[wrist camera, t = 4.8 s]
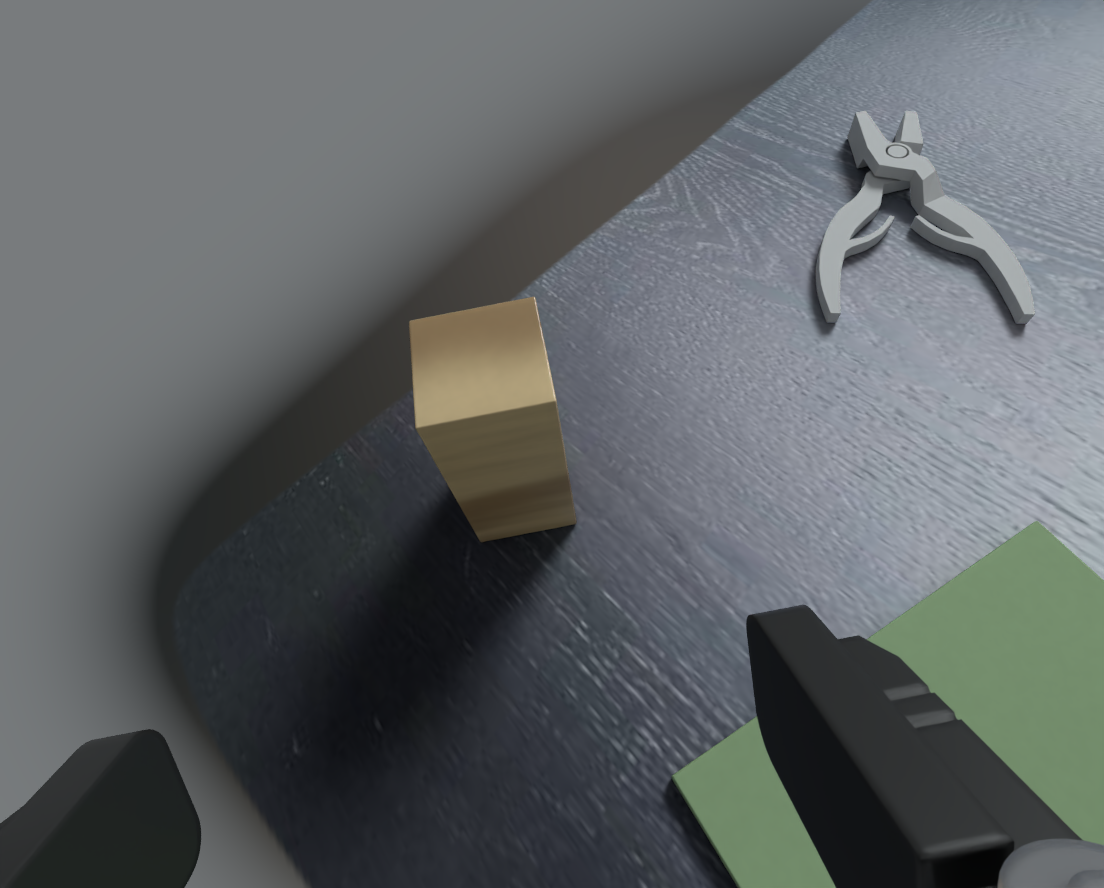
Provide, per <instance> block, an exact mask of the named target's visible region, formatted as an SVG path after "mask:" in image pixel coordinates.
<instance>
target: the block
mask: <svg viewBox="0 0 1104 888" xmlns="http://www.w3.org/2000/svg"><path fill="white" fill-rule="evenodd" d="M409 331H410V348H411V364H412V380H413V396H414V412H415V428H416V430H417V432H418V433H419V435H420V437H421V439H422V440H423V442H424V444H425V446H426V447H427V449H428V451H429V453H430V454H431V456H432V458H433V460H434V461H435V463H436V465H437V467H438V469H439V470H440V472H441V474H442V476H443V477H444V479H445V481H446V483H447V484H448V486H449V488H450V490H451V491H452V493H453V495H454V497H455V498H456V500H457V502H458V504H459V505H460V507H461V509H462V511H463V512H464V514H465V516H466V518H467V519H468V521H469V523H470V525H471V527H472V528H473V530H474V532H475V534H476V535H477V537H478V539H479V541H480V542H485V541H490V540H496V539H501V538H506V537H511V536H516V535H522V534H527V533H532V532H537V531H542V530H547V529H553V528H558V527H563V526H568V525H573V524H577V521H576V515H575V509H574V503H573V497H572V491H571V485H570V479H569V473H568V467H567V461H566V455H565V449H564V443H563V437H562V431H561V425H560V419H559V413H558V407H557V401H556V396H555V391H554V386H553V381H552V376H551V372H550V367H549V362H548V357H547V352H546V347H545V342H544V337H543V332H542V327H541V323H540V318H539V313H538V308H537V303H536V298H535V297H530V298H525V299H520V300H514V301H509V302H505V303H500V304H494V305H489V306H484V307H478V308H473V309H468V310H463V311H458V312H453V313H448V314H443V315H437V316H432V317H427V318H423V319H417V320H412V321H409Z"/></svg>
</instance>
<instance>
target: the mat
mask: <svg viewBox="0 0 1104 888" xmlns="http://www.w3.org/2000/svg"><path fill="white" fill-rule="evenodd" d="M866 640H868V641H870V642H872V643H874V644H876V645H878V646H879V647H881V648H883V649H885V650H887V651H889V652H891V653H893V654H895V655H897V656H899V657H900V658H901V659H902V660H903V661H904V662H905V663H906V664H907V665H908V666H909V667H910V668H911V669H912V670H913V671H914V672H915V673H916V674H917V675H918V676H919V677H920V678H921V679H922V680H923V681H924V682H925V683H926V684H927V685H928V687H929V690H930V692H931V693H934V692H935V693H936V694H937V695H938V696H939V697H940V698H941V699H942V700H943V701H944V702H945V703H946V704H947V705H948V706H949V707H950V708H951V709H952V710H953V711H954V713H955V716H956V718H957V719H958V720H960V719H962V720H963V721H964V722H965V723H966V724H967V725H968V726H969V727H970V728H971V729H972V730H973V731H974V732H975V733H976V734H977V735H978V736H979V737H980V738H981V739H982V740H983V741H984V742H985V743H986V744H987V745H988V746H989V747H990V748H991V749H992V750H993V751H994V752H995V753H996V754H997V755H998V756H999V757H1000V758H1001V759H1002V760H1003V761H1004V762H1005V763H1006V764H1007V765H1008V766H1009V767H1010V768H1011V769H1012V770H1013V771H1014V772H1015V773H1016V774H1017V775H1018V776H1019V777H1020V778H1021V779H1022V780H1023V781H1024V782H1025V783H1026V784H1027V785H1028V786H1029V787H1030V788H1031V789H1032V790H1033V791H1034V792H1035V793H1036V794H1037V795H1038V796H1039V797H1040V798H1041V799H1042V800H1043V801H1044V802H1045V803H1046V804H1047V805H1048V806H1049V807H1050V808H1051V809H1052V810H1053V811H1054V812H1055V813H1056V814H1057V815H1058V816H1059V817H1060V818H1061V819H1062V820H1063V821H1064V822H1065V823H1066V824H1067V825H1068V826H1069V827H1070V828H1071V829H1072V830H1073V831H1074V832H1075V833H1076V834H1077V835H1078V836H1079V837H1080V838H1081V839H1082V840H1083V841H1089V842H1093V843H1097V844H1101V845H1104V580H1103V579H1101V578H1100V577H1099V576H1098V575H1097V574H1096V573H1095V572H1094V571H1093V570H1091V569H1090V568H1089V567H1088V566H1087V565H1086V564H1085V563H1084V562H1082V561H1081V560H1080V559H1079V558H1078V557H1077V556H1076V555H1075V554H1074V553H1072V552H1071V551H1070V550H1069V549H1068V548H1067V547H1066V546H1065V545H1064V544H1062V543H1061V542H1060V541H1059V540H1058V539H1057V538H1056V537H1055V536H1054V535H1052V534H1051V533H1050V532H1049V531H1048V530H1047V529H1046V528H1045V527H1044V526H1042V525H1041V524H1040V523H1039V522H1038V521H1036V522H1034V523H1032V524H1031V525H1029V526H1028V527H1026V528H1025V529H1023V530H1022V531H1021V532H1019V533H1018V534H1016V535H1015V536H1013V537H1012V538H1011V539H1009V540H1008V541H1006V542H1005V543H1003V544H1002V545H1001V546H999V547H998V548H996V549H995V550H993V551H992V552H991V553H989V554H988V555H986V556H985V557H983V558H982V559H981V560H979V561H978V562H976V563H975V564H973V565H972V566H971V567H969V568H968V569H966V570H965V571H963V572H962V573H961V574H959V575H958V576H956V577H955V578H954V579H952V580H951V581H949V582H948V583H946V584H945V585H944V586H942V587H941V588H939V589H938V590H936V591H935V592H934V593H932V594H931V595H929V596H928V597H926V598H925V599H924V600H922V601H921V602H919V603H918V604H916V605H915V606H914V607H912V608H911V609H909V610H908V611H906V612H905V613H904V614H902V615H901V616H899V617H898V618H896V619H895V620H894V621H892V622H891V623H889V624H888V625H886V626H885V627H884V628H882V629H881V630H879V631H878V632H876V633H875V634H874V635H872V636H871V637H869V638H868V639H866ZM672 780H673V781H674V783H675V785H676V786H677V788H678V790H679V791H680V793H681V795H682V796H683V798H684V800H685V801H686V803H687V805H688V806H689V808H690V810H691V811H692V813H693V814H694V816H695V818H696V819H697V821H698V823H699V824H700V826H701V828H702V829H703V831H704V833H705V834H706V836H707V838H708V839H709V841H710V843H711V844H712V846H713V847H714V849H715V851H716V852H717V854H718V856H719V857H720V859H721V861H722V862H723V864H724V866H725V867H726V869H727V871H728V872H729V874H730V875H731V877H732V879H733V880H734V882H735V884H736V885H737V887H738V888H836V887H835V885H834V883H833V881H832V879H831V877H830V875H829V873H828V871H827V869H826V867H825V866H824V864H823V862H822V860H821V858H820V856H819V854H818V852H817V850H816V848H815V846H814V844H813V842H812V840H811V838H810V836H809V834H808V833H807V831H806V829H805V827H804V825H803V823H802V821H801V819H800V817H799V815H798V813H797V811H796V809H795V807H794V805H793V803H792V801H791V800H790V798H789V796H788V794H787V792H786V790H785V788H784V786H783V784H782V782H781V780H780V778H779V776H778V774H777V772H776V770H775V768H774V766H773V764H772V762H771V760H770V758H769V755H768V753H767V750H766V747H765V744H764V742H763V738H762V735H761V731H760V728H759V723H758V719H757V716H756V717H755V718H754V719H752V720H751V721H749V722H748V723H747V724H745V725H744V726H742V727H741V728H739V729H738V730H737V731H735V732H734V733H732V734H731V735H729V736H728V737H727V738H725V739H724V740H722V741H721V742H719V743H718V744H717V745H715V746H714V747H712V748H711V749H709V750H708V751H707V752H705V753H704V754H702V755H701V756H699V757H698V758H697V759H695V760H694V761H692V762H691V763H689V764H688V765H687V766H685V767H684V768H682V769H681V770H679V771H678V772H677V773H675V774H674V775H672Z"/></svg>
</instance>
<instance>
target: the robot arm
mask: <svg viewBox="0 0 1104 888" xmlns="http://www.w3.org/2000/svg"><path fill="white" fill-rule="evenodd" d="M746 628H747V638H748V646H749V655H750V663H751V672H752V680H753V688H754V697H755V705H756V713H757V719H758V723H759V728H760V731H761V735H762V738H763V742H764V744H765V747H766V750H767V753H768V755H769V758H770V760H771V762H772V764H773V766H774V768H775V770H776V772H777V774H778V776H779V778H780V780H781V782H782V784H783V786H784V788H785V790H786V792H787V794H788V796H789V798H790V800H791V801H792V803H793V805H794V807H795V809H796V811H797V813H798V815H799V817H800V819H801V821H802V823H803V825H804V827H805V829H806V831H807V833H808V834H809V836H810V838H811V840H812V842H813V844H814V846H815V848H816V850H817V852H818V854H819V856H820V858H821V860H822V862H823V864H824V866H825V867H826V869H827V871H828V873H829V875H830V877H831V879H832V881H833V883H834V885H835V887H836V888H1104V845H1101V844H1097V843H1093V842H1089V841H1083V840H1082V839H1081V838H1080V837H1079V836H1078V835H1077V834H1076V833H1075V832H1074V831H1073V830H1072V829H1071V828H1070V827H1069V826H1068V825H1067V824H1066V823H1065V822H1064V821H1063V820H1062V819H1061V818H1060V817H1059V816H1058V815H1057V814H1056V813H1055V812H1054V811H1053V810H1052V809H1051V808H1050V807H1049V806H1048V805H1047V804H1046V803H1045V802H1044V801H1043V800H1042V799H1041V798H1040V797H1039V796H1038V795H1037V794H1036V793H1035V792H1034V791H1033V790H1032V789H1031V788H1030V787H1029V786H1028V785H1027V784H1026V783H1025V782H1024V781H1023V780H1022V779H1021V778H1020V777H1019V776H1018V775H1017V774H1016V773H1015V772H1014V771H1013V770H1012V769H1011V768H1010V767H1009V766H1008V765H1007V764H1006V763H1005V762H1004V761H1003V760H1002V759H1001V758H1000V757H999V756H998V755H997V754H996V753H995V752H994V751H993V750H992V749H991V748H990V747H989V746H988V745H987V744H986V743H985V742H984V741H983V740H982V739H981V738H980V737H979V736H978V735H977V734H976V733H975V732H974V731H973V730H972V729H971V728H970V727H969V726H968V725H967V724H966V723H965V722H964V721H963V720H962V719H960V720H958V719H957V718H956V716H955V713H954V711H953V710H952V709H951V708H950V707H949V706H948V705H947V704H946V703H945V702H944V701H943V700H942V699H941V698H940V697H939V696H938V695H937V694H936V693H935V692H934V693H931V692H930V690H929V687H928V685H927V684H926V683H925V682H924V681H923V680H922V679H921V678H920V677H919V676H918V675H917V674H916V673H915V672H914V671H913V670H912V669H911V668H910V667H909V666H908V665H907V664H906V663H905V662H904V661H903V660H902V659H901V658H900V657H899V656H897V655H895V654H893V653H891V652H889V651H887V650H885V649H883V648H881V647H879V646H878V645H876V644H874V643H872V642H870V641H868V640H866V639H864V638H862V637H860V636H853V637H848V638H843V639H837V638H836V637H835V636H834V635H833V634H832V633H831V631H830V630H829V629H828V628H827V627H826V626H825V625H824V623H823V622H822V621H821V620H820V619H819V618H818V617H817V615H816V614H815V613H814V612H813V611H812V610H811V609H810V608H809V607H808V606H806V605H799V606H794V607H789V608H784V609H778V610H773V611H768V612H763V613H758V614H752V615H749V616H748V617H747V623H746ZM200 845H201V827H200V821H199V818H198V815H197V812H196V810H195V808H194V805H193V803H192V801H191V798H190V796H189V794H188V791H187V789H186V787H185V784H184V782H183V780H182V777H181V775H180V772H179V770H178V768H177V765H176V763H175V761H174V758H173V756H172V754H171V751H170V749H169V747H168V744H167V742H166V740H165V738H164V737H163V736H162V735H161V734H160V733H159V732H157V731H155V730H150V729H148V730H142V731H137V732H132V733H127V734H121V735H116V736H111V737H106V738H101V739H95V740H91V741H89V742H87V743H85V744H84V745H82V746H81V747H80V748H79V749H77V750H76V751H75V752H74V753H73V754H72V756H71V757H70V758H69V759H68V760H67V761H66V762H65V763H64V764H63V765H62V766H61V767H60V768H59V769H58V770H57V771H56V772H55V773H54V774H53V775H52V776H51V778H50V779H49V780H48V781H47V782H46V783H45V784H44V785H43V786H42V787H41V788H40V789H39V790H38V791H37V792H36V793H35V794H34V795H33V797H32V798H31V799H30V800H29V801H28V802H27V803H26V804H25V805H24V806H23V807H21V808H20V809H19V810H17V811H16V812H15V813H13V814H12V815H11V816H10V817H9V818H7V819H6V820H4V821H3V822H2V823H0V888H184V887H185V886H186V884H187V882H188V880H189V879H190V877H191V875H192V872H193V871H194V868H195V866H196V863H197V860H198V856H199V851H200Z"/></svg>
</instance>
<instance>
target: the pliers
mask: <svg viewBox="0 0 1104 888" xmlns="http://www.w3.org/2000/svg"><path fill="white" fill-rule="evenodd" d="M847 138H848V141H849V144H850V147H851V150H852V153H853V157H854V160H855V163H856V166H857V168H861V167H866V166H869V168H870V169H871V171H869V172H868V173H866V175H865V178H864V180H863V183H862V187H861V190H860V192H859V193H858V194H857V196H856V197H855V198H854V199H852V200H851V201H850V202H849V203H847V204H846V205H845V206H843V207H842V208H841V209H840V210H839V211H838V213H837V214H836V215H835V217H834V218H833V219H832V221H831V223H830V225H829V227H828V229H827V231H826V233H825V236H824V239H823V241H822V244H821V247H820V251H819V254H818V259H817V264H816V287H817V295H818V298H819V302H820V305H821V309H822V311H823V314H824V317H825V319H826V322H837V320H838V318H839V316H840V314H841V309H840V279H841V269H842V264H843V260H844V259H845V258H847V257H848V256H851V255H854V254H857V253H860V252H863V251H865V250H867V249H869V248H870V247H872V246H874V245H876V244H877V243H878V242H879V241H880V240H881V239H882V238H883V237H884V236H885V234H886V233H887V231H888V230H889V228H890V226H891V224H892V222H893V220H894V218H895V217H894V216H891V215H890V217H889V218H888V219H887V221H886V222H885V223H884V224H883V225H882V226H881V227H880V228H879V229H878V230H877V231H876V232H874V233H872V234H870V235H868V236H866V237H861V238H855V239H851V238H852V237H853V236H854V235H855V234H856V233H857V232H858V231H859V230H860V229H861V228H863V227H864V226H865V225H866V224H867V223H868V222H869V221H871V220H872V219H873V218H874V217H875V216H876V214H877V212H878V210H879V207H880V205H881V199H882V194H886V193H890V192H895V191H899V190H904V189H908V188H911V205H912V207H913V208H914V209H915V211H916V212H917V214H918V216H916V217H915V218H914V220H913V222H912V224H911V226H910V227H911V228H912V229H913V230H914V231H915V232H917V233H918V234H919V235H920V236H922V237H923V238H925V239H926V240H928V241H929V242H931V243H932V244H935V245H937V246H939V247H942V248H944V249H946V250H949V251H952V252H956V253H960V254H964V255H967V256H969V257H972V258H974V259H976V260H978V261H979V262H980V264H981V265H982V266H983V268H984V269H985V270H986V272H987V273H988V274H989V276H990V277H991V279H992V280H993V281H994V283H995V285H996V286H997V288H998V290H999V292H1000V293H1001V295H1002V297H1003V299H1004V301H1005V302H1006V304H1007V306H1008V308H1009V310H1010V312H1011V314H1012V316H1013V318H1014V321H1015V323H1016V324H1027V323H1028V322H1029V320H1030V319H1031V318H1032V317H1033V316H1034V315H1035V311H1034V304H1033V298H1032V293H1031V289H1030V285H1029V282H1028V280H1027V277H1026V275H1025V273H1024V270H1023V268H1022V267H1021V265H1020V263H1019V261H1018V259H1017V258H1016V256H1015V254H1014V253H1013V252H1012V250H1011V249H1010V248H1009V246H1008V245H1007V244H1006V242H1005V241H1004V240H1003V239H1002V238H1001V237H1000V235H999V234H998V233H997V232H996V231H995V230H994V229H993V228H992V227H991V226H990V225H989V224H988V223H987V222H986V221H985V220H984V219H983V218H981V217H980V216H979V215H977V214H976V213H975V212H973V211H972V210H970V209H969V208H968V207H966V206H964V205H962V204H960V203H958V202H956V201H954V200H953V199H951V198H949V197H947V196H945V194H944V192H943V189H942V186H941V183H940V180H939V177H938V174H937V171H936V169H935V168H934V167H933V165H932V164H931V162H930V161H929V160H928V158H925V157H923V156H920V153H921V150H922V147H923V139H922V135H921V130H920V125H919V121H918V116H917V112H911V111H905V114H904V116H903V119H902V121H901V123H900V126H899V128H898V130H897V133H896V137H895V143H891V142H889V141H888V140H887V139H886V138H885V137H884V135H883V134H882V133H881V131H880V130H879V128H878V127H877V126H876V124H875V123H874V122H873V120H872V119H871V117H870V116H869V115H868V113H867V112H866V111H862V112H857V113H856V114H855V117H854V120H853V122H852V125H851V128H850V131H849V134H848V137H847ZM925 219H926V220H928V221H929V222H931V223H933V224H934V225H936V226H938V227H939V228H941V229H943V230H944V231H942V230H940V229H939V228H937V227H935V226H934V225H932V224H930V223H929V222H928V221H926V220H925ZM945 231H946V232H945Z"/></svg>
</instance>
